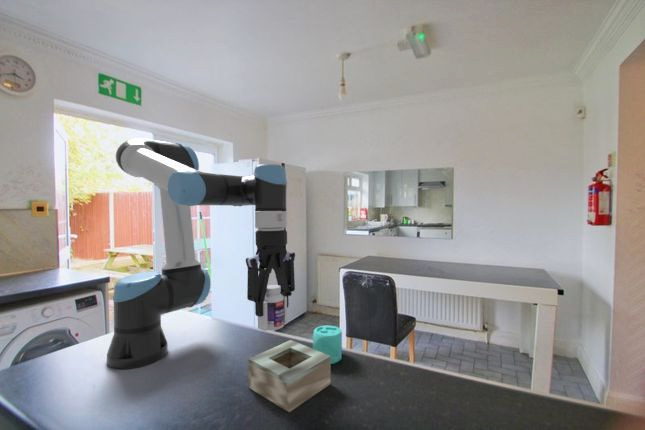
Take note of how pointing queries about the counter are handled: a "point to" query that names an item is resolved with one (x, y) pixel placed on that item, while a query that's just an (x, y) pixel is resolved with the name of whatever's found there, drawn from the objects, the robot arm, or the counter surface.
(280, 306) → the pill bottle
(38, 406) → the counter surface
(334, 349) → the engraved teal number block
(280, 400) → the grey hollow square block
